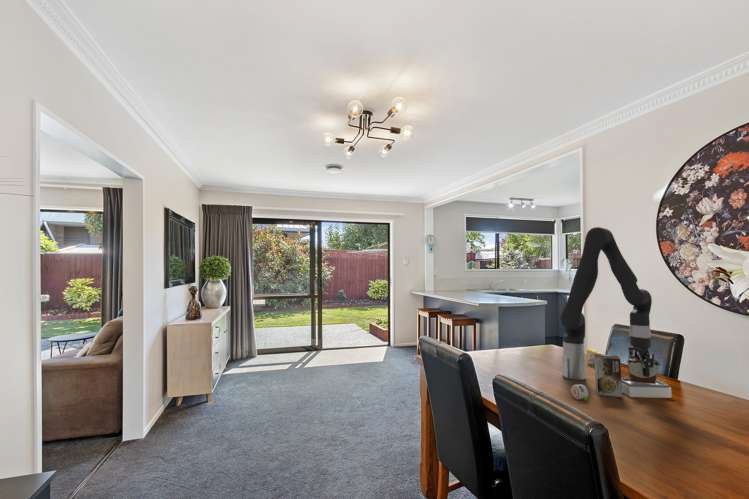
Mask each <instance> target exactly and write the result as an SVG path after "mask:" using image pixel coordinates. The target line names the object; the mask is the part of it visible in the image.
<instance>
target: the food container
mask: <svg viewBox="0 0 749 499" xmlns="http://www.w3.org/2000/svg"><path fill="white" fill-rule="evenodd" d="M635 357H636V356H635ZM649 363H650V364H651V362H649ZM625 364H627V367H628V369H627V370H628V378H629V380H630V382H638V383H648V384H656V380H658V379H657V378H658V372H659V367H661V363H660V361H659V360H658V359H656V358H654V366H653V368H649V374H650V376H649V377H644V376H643V365H642V363H641V362H640V359H639V358H633V356H629V355H628V357H627V358H626V361H625ZM645 365H646V362H645Z"/></svg>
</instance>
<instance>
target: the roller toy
mask: <svg viewBox="0 0 749 499" xmlns="http://www.w3.org/2000/svg"><path fill="white" fill-rule="evenodd" d="M570 391H571V395H572V396H573V398H574V399H575V400H583V401H587V400H588V397H589V390H588V388H587V386H585V385H584V384H579V383H578V384H574V385H572V386H571V388H570Z"/></svg>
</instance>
